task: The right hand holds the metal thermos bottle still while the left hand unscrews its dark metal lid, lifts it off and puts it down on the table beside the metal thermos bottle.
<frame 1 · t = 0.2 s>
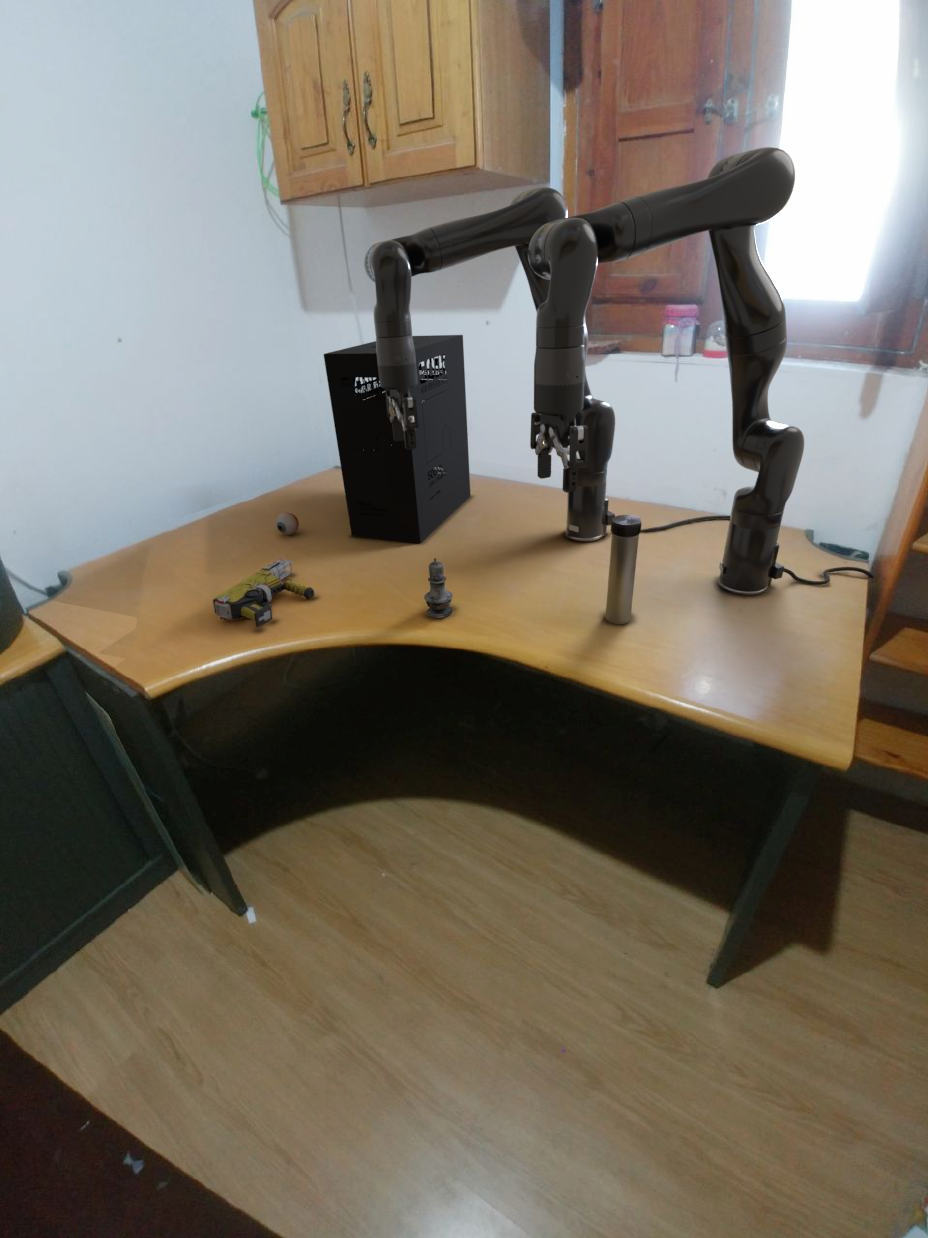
left hand: (404, 444, 126), 29 cm above the table, tool pointing down, fingers open, 8 cm apart
right hand: (556, 484, 98), 29 cm above the table, tool pointing down, fingers open, 8 cm apart
dark chess piece: (439, 612, 123), on the table
eyeball: (289, 534, 165), on the table
cardboard box: (415, 515, 173), on the table
metal thermos bottle: (617, 618, 117), on the table
toy gun: (277, 600, 131), on the table
lid: (626, 521, 108), point 20 cm above the table, screwed on, not yet turned
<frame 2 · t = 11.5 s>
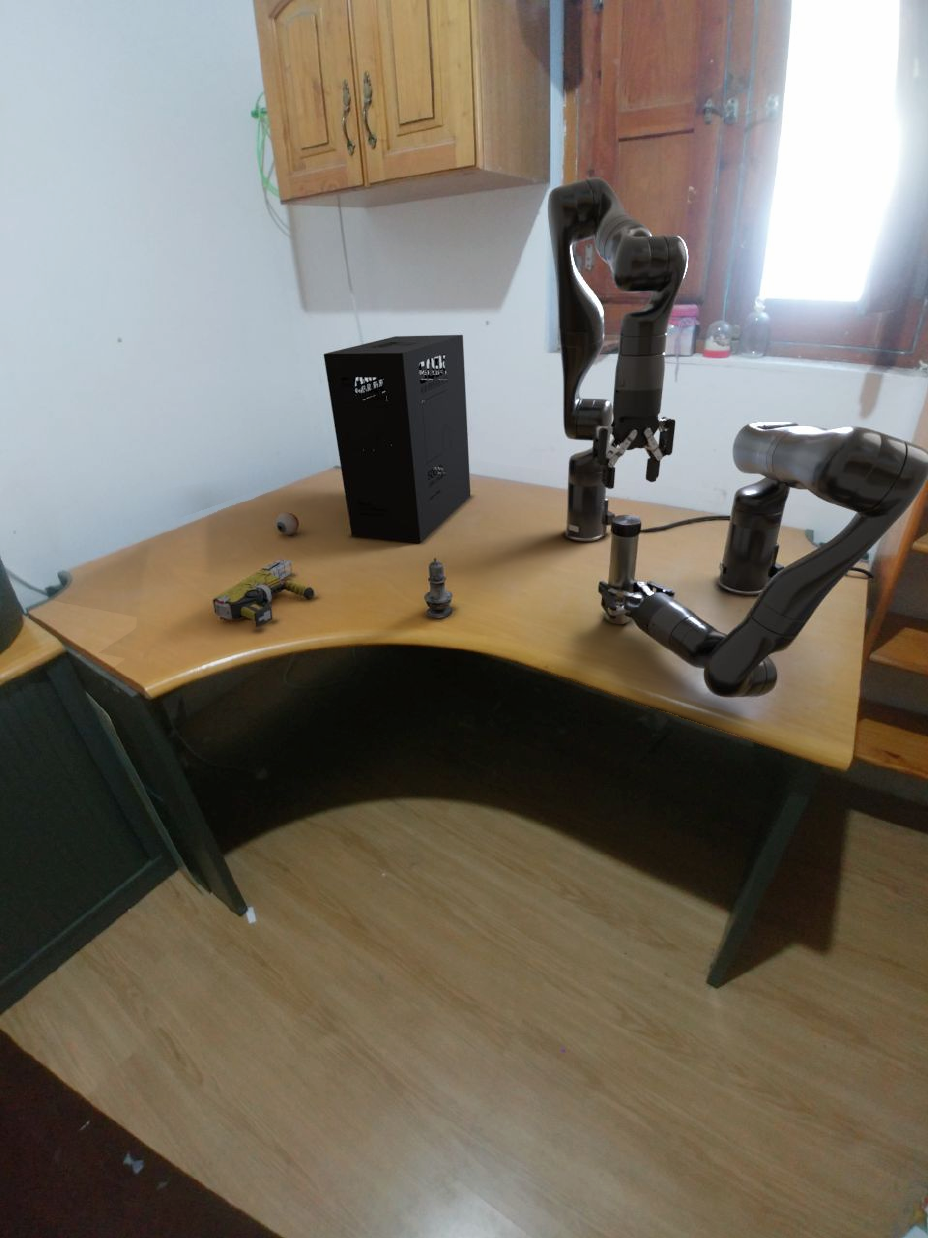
left hand: (629, 484, 104), 27 cm above the table, tool pointing down, fingers open, 7 cm apart
right hand: (612, 582, 116), 6 cm above the table, tool horizontal, fingers closed on metal thermos bottle, 4 cm apart
metal thermos bottle: (617, 618, 117), on the table, touching right hand
everything else where it was.
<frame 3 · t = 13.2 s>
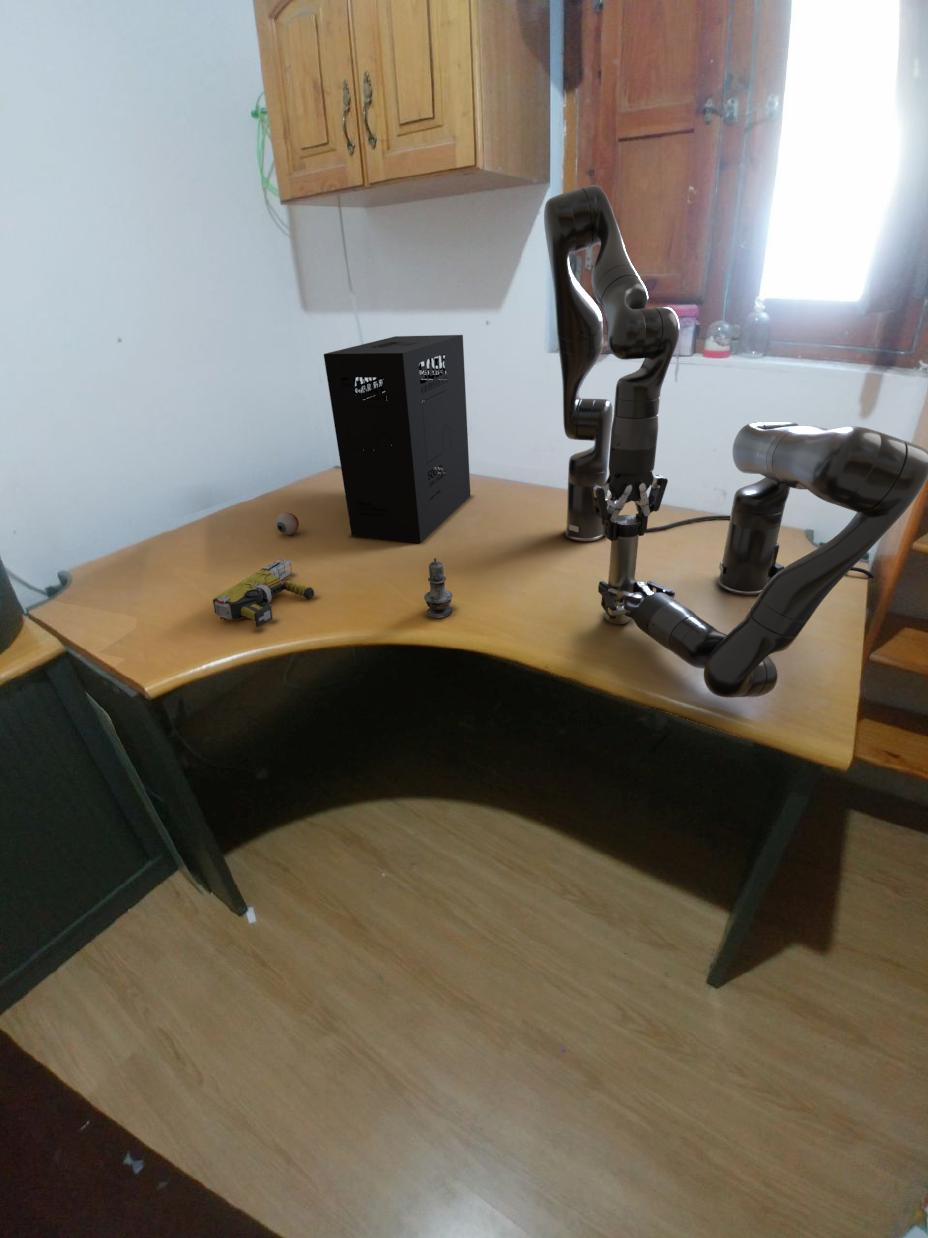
left hand: (625, 536, 109), 17 cm above the table, tool pointing down, fingers closed on lid, 5 cm apart
right hand: (612, 582, 116), 6 cm above the table, tool horizontal, fingers closed on metal thermos bottle, 4 cm apart
metal thermos bottle: (617, 618, 117), on the table, touching right hand
lid: (626, 521, 108), point 20 cm above the table, screwed on, not yet turned, touching left hand
everything else where it was.
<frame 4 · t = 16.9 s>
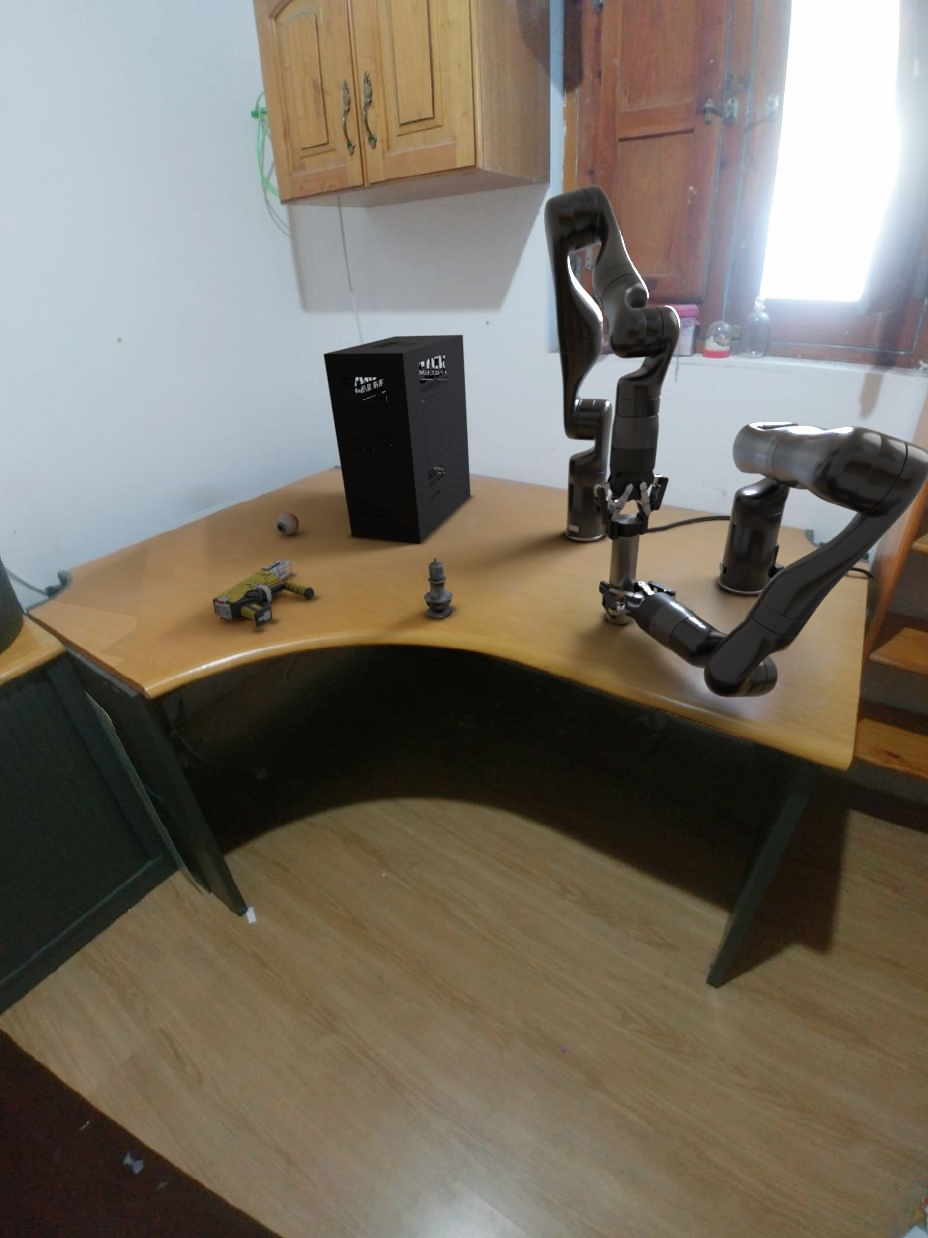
left hand: (625, 535, 109), 17 cm above the table, tool pointing down, fingers closed on lid, 5 cm apart
right hand: (613, 582, 116), 7 cm above the table, tool horizontal, fingers closed on metal thermos bottle, 4 cm apart
metal thermos bottle: (618, 617, 118), on the table, touching right hand
lid: (627, 520, 107), point 20 cm above the table, turned 84° so far, risen 0.1 cm, still on its thread, touching left hand
everything else where it was.
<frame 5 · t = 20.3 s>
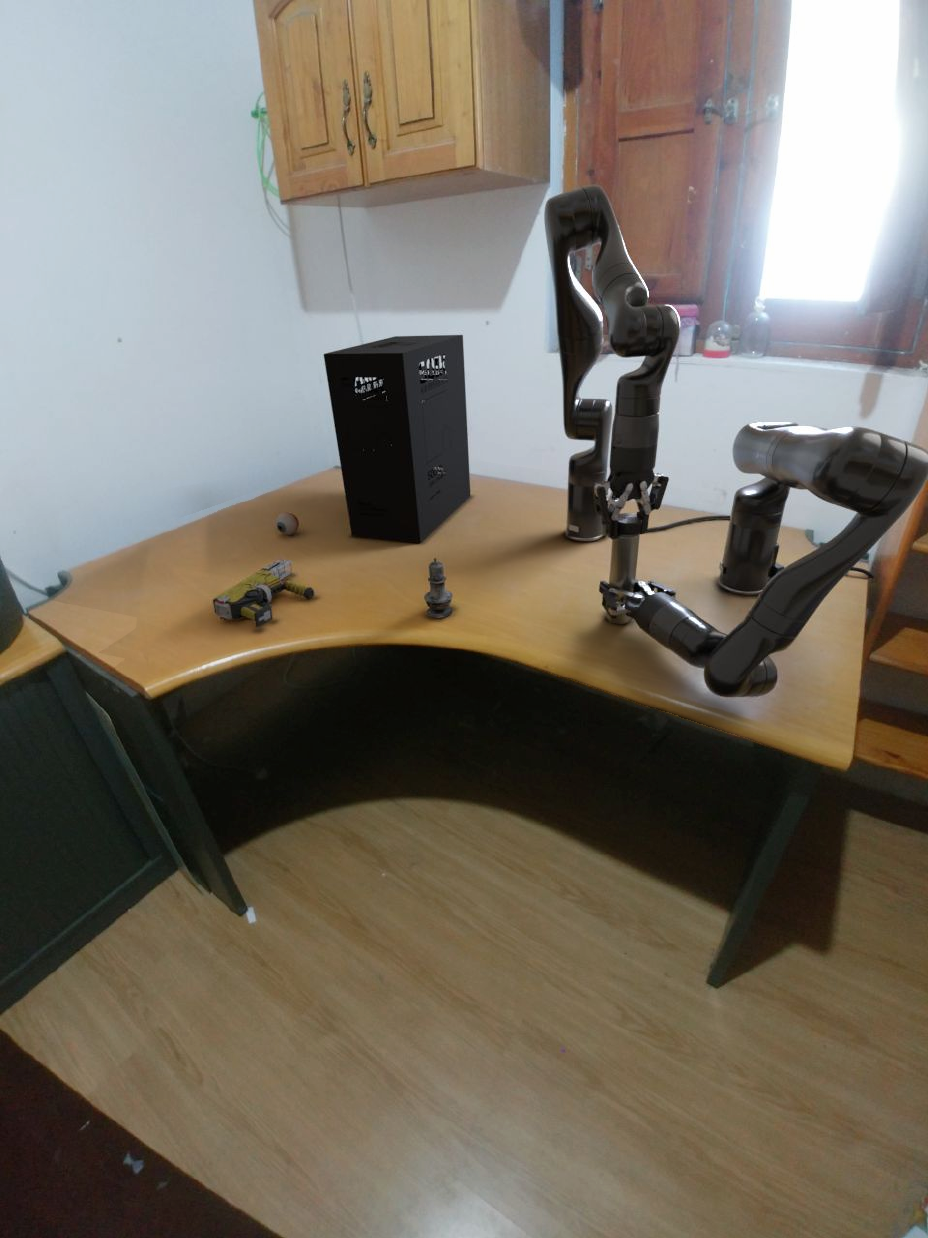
left hand: (626, 534, 109), 17 cm above the table, tool pointing down, fingers closed on lid, 5 cm apart
right hand: (613, 582, 116), 7 cm above the table, tool horizontal, fingers closed on metal thermos bottle, 4 cm apart
metal thermos bottle: (618, 617, 118), on the table, touching right hand
lid: (627, 519, 107), point 20 cm above the table, turned 167° so far, risen 0.3 cm, still on its thread, touching left hand
everything else where it was.
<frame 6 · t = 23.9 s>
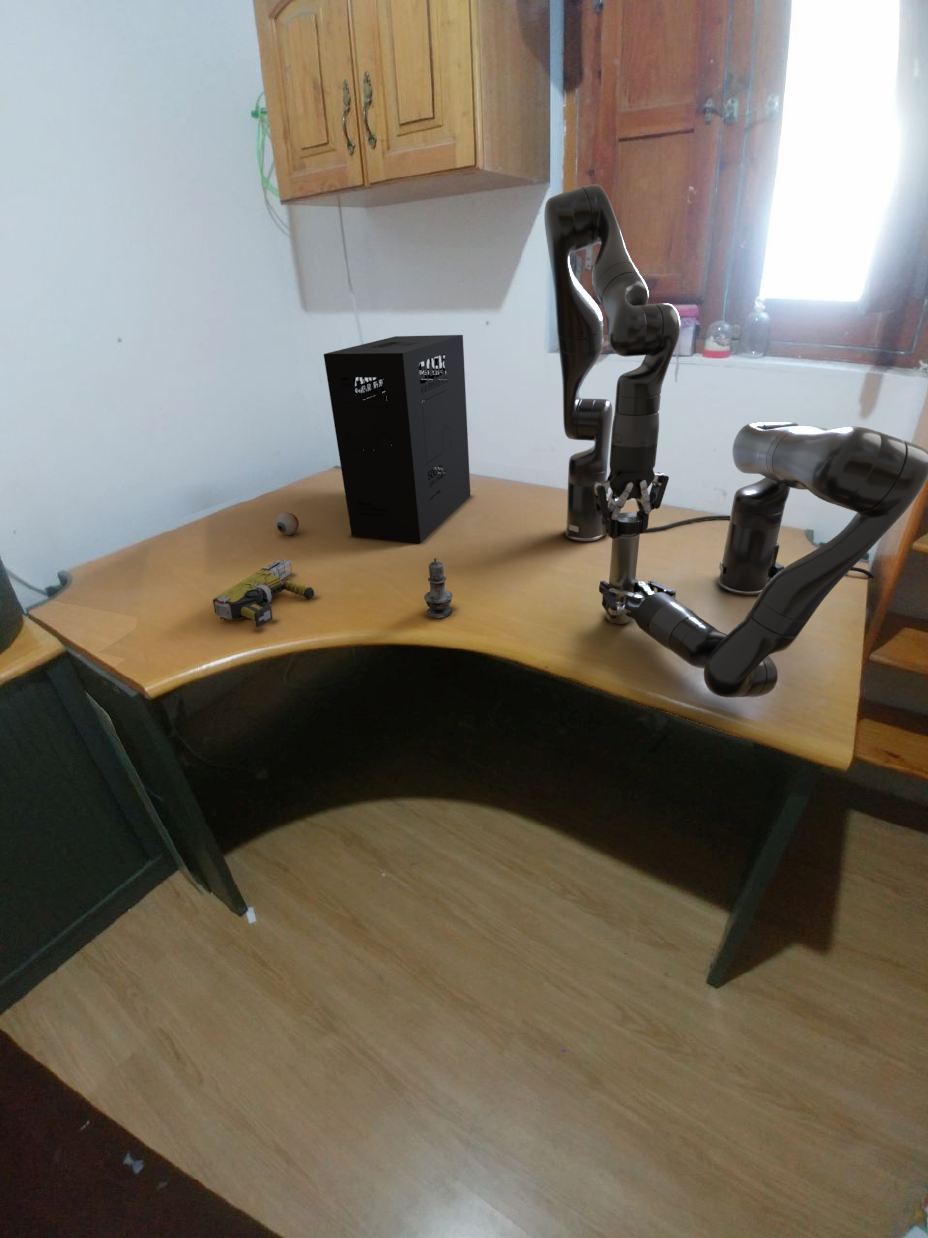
left hand: (626, 534, 109), 17 cm above the table, tool pointing down, fingers closed on lid, 5 cm apart
right hand: (613, 582, 116), 7 cm above the table, tool horizontal, fingers closed on metal thermos bottle, 4 cm apart
metal thermos bottle: (618, 617, 118), on the table, touching right hand
lid: (627, 519, 107), point 20 cm above the table, turned 250° so far, risen 0.4 cm, still on its thread, touching left hand
everything else where it was.
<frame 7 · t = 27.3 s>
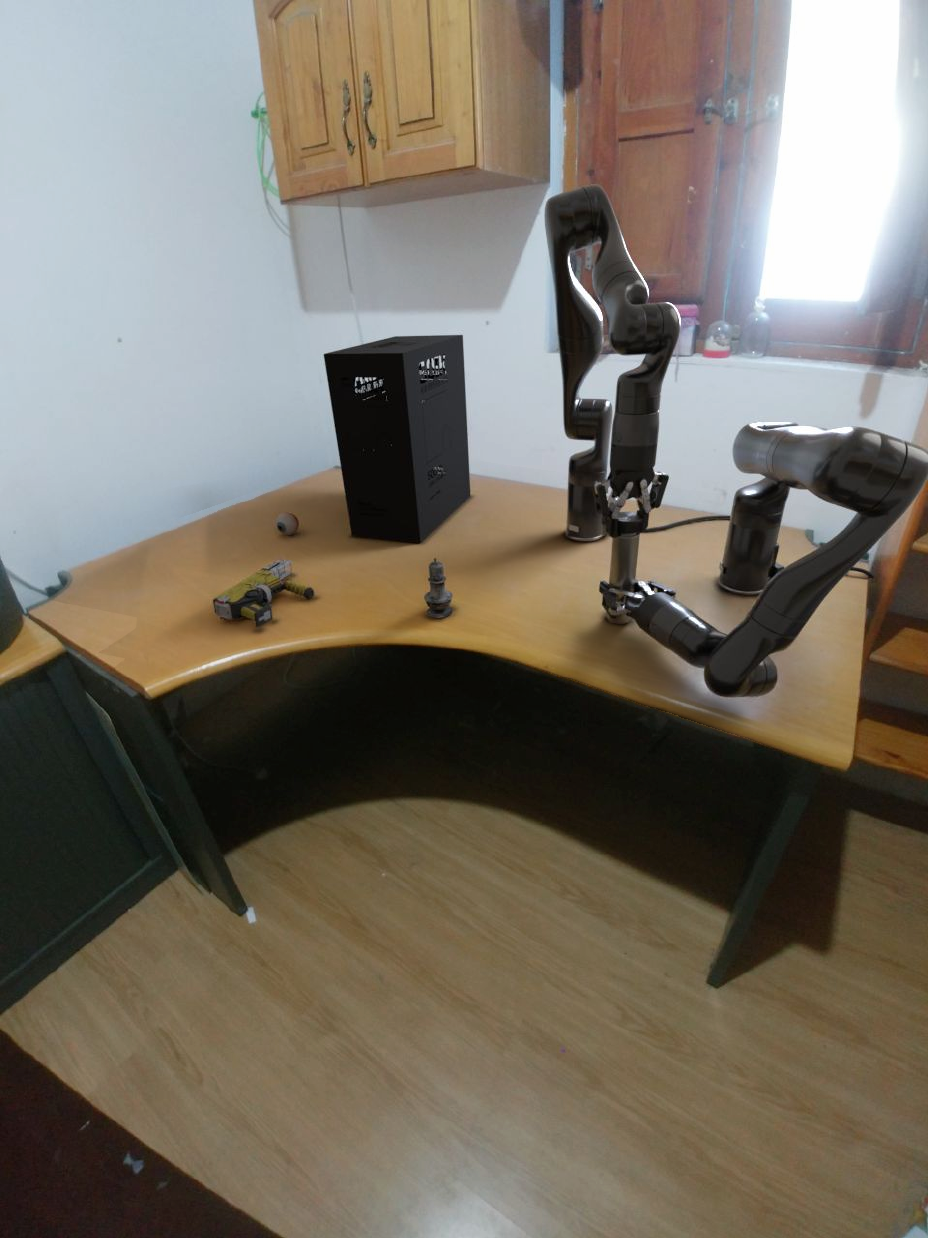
left hand: (626, 533, 109), 18 cm above the table, tool pointing down, fingers closed on lid, 5 cm apart
right hand: (613, 582, 116), 7 cm above the table, tool horizontal, fingers closed on metal thermos bottle, 4 cm apart
metal thermos bottle: (618, 617, 118), on the table, touching right hand
lid: (627, 518, 107), point 20 cm above the table, turned 333° so far, risen 0.6 cm, still on its thread, touching left hand
everything else where it was.
when the left hand's fingers open (0 cm above the table, at t = 33.7 s): lid drops 1 cm, point 2 cm above the table.
when the right hand's fingers open (7 cm above the table, at t = 34.8 s): metal thermos bottle stays where it is, on the table.
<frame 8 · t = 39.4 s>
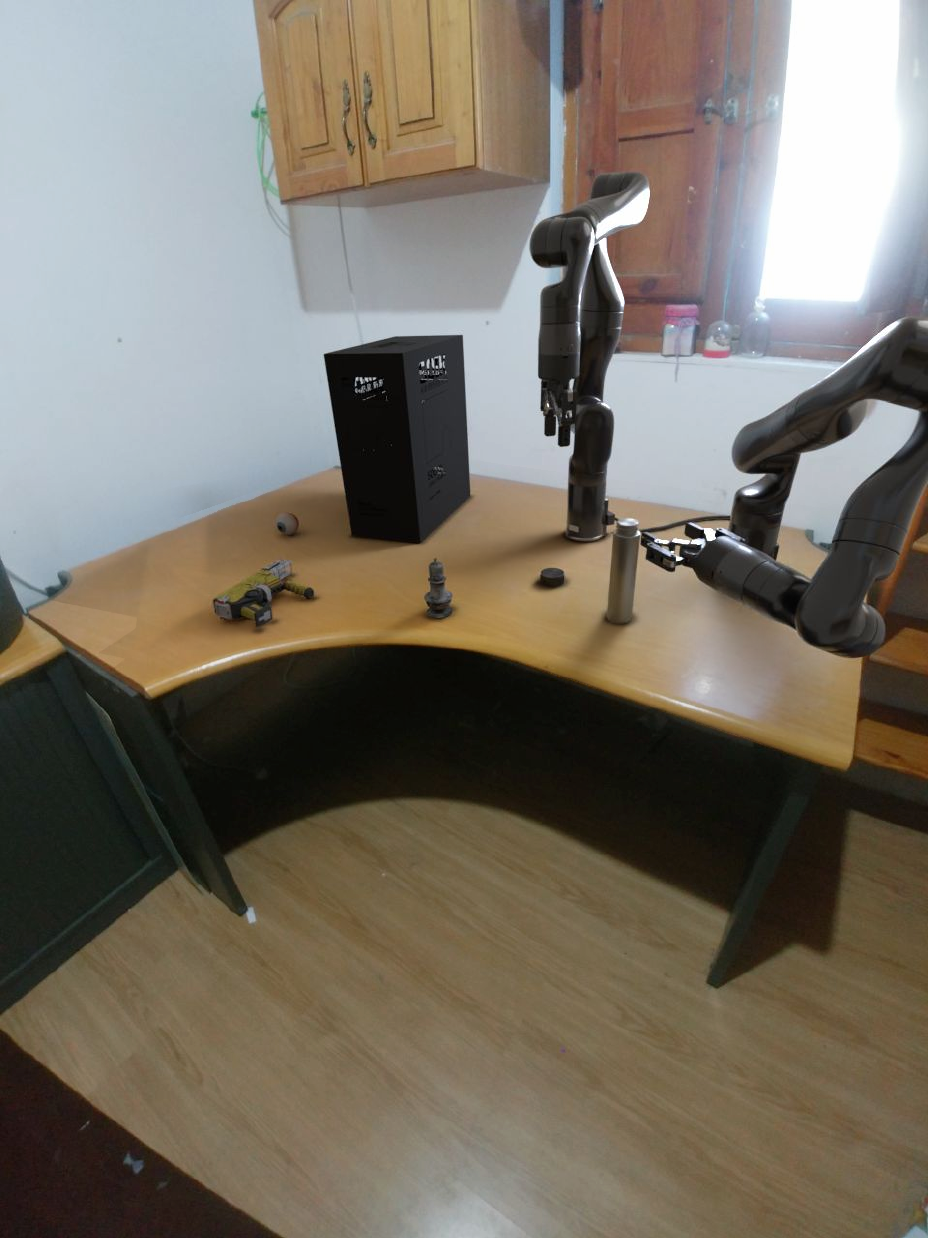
left hand: (556, 440, 117), 31 cm above the table, tool pointing down, fingers open, 8 cm apart
right hand: (664, 532, 98), 21 cm above the table, tool horizontal, fingers open, 8 cm apart
metal thermos bottle: (619, 617, 118), on the table
lid: (552, 574, 131), point 2 cm above the table, off its thread
everything else where it was.
at the end: lid came off its thread; lid point 1.9 cm above the table; the left hand is holding nothing; the right hand is holding nothing; metal thermos bottle tilted 0°; metal thermos bottle moved 0.3 cm from its start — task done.
